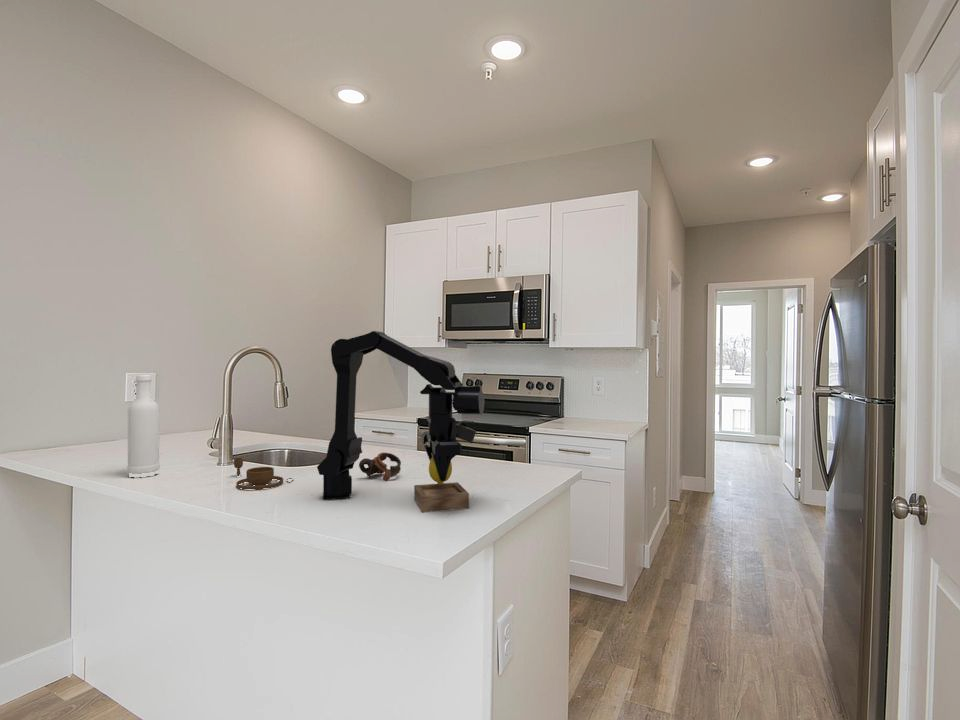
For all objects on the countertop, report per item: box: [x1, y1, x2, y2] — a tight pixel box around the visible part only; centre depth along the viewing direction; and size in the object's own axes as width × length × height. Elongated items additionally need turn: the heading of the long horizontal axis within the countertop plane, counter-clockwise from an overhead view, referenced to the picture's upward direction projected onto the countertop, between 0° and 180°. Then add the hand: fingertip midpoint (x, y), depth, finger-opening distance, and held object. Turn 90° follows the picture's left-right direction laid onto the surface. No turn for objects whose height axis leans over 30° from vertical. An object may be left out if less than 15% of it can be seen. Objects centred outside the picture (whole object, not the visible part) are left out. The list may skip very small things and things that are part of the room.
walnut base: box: [413, 481, 470, 513], centre depth 121 cm, size 11×11×4 cm
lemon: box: [428, 458, 453, 485], centre depth 121 cm, size 6×6×8 cm
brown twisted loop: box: [358, 452, 402, 482], centre depth 147 cm, size 12×10×8 cm
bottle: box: [126, 374, 161, 474], centre depth 150 cm, size 8×8×30 cm
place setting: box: [233, 457, 293, 490], centre depth 142 cm, size 18×20×6 cm
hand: (440, 478), depth 121 cm, fingers closed on lemon, 5 cm apart
